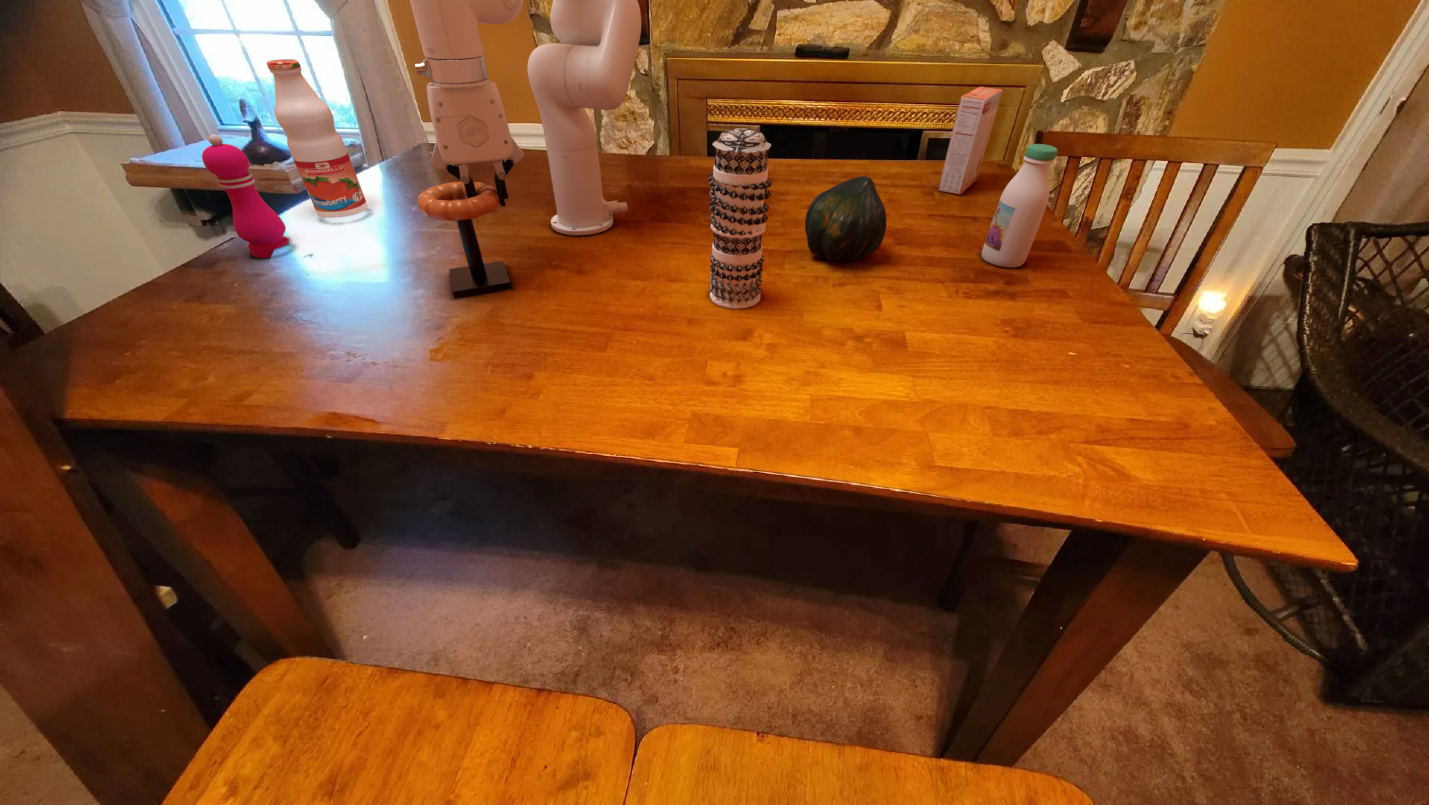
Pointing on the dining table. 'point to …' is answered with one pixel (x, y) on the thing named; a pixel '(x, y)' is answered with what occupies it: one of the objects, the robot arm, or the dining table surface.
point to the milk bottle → (1020, 209)
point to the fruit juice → (315, 143)
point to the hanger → (476, 267)
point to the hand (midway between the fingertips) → (489, 204)
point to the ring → (457, 201)
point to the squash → (846, 220)
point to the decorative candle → (738, 217)
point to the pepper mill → (244, 199)
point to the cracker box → (969, 139)
